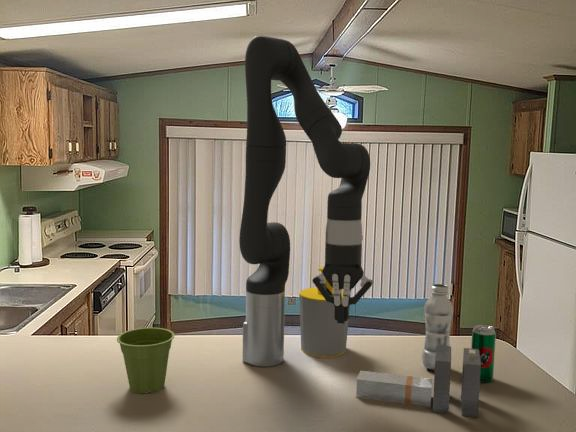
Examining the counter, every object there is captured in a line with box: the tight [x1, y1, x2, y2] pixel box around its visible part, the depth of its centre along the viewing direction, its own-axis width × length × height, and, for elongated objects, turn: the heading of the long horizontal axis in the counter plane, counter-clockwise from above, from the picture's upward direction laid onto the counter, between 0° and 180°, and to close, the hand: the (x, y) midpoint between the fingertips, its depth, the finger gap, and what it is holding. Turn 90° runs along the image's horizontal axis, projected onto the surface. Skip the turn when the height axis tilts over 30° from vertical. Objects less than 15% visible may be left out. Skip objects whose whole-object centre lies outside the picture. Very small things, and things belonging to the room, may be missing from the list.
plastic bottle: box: [421, 283, 454, 371], centre depth 140 cm, size 6×7×20 cm
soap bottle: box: [298, 266, 351, 358], centre depth 152 cm, size 13×13×21 cm
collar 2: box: [460, 347, 481, 418], centre depth 121 cm, size 3×9×12 cm, turn 165°
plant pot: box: [116, 327, 176, 394], centre depth 127 cm, size 12×12×11 cm
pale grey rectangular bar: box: [355, 369, 433, 408], centre depth 125 cm, size 15×5×4 cm, turn 75°
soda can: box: [470, 324, 497, 383], centre depth 135 cm, size 5×5×12 cm
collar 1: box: [432, 345, 452, 414], centre depth 122 cm, size 3×9×10 cm, turn 165°
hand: (341, 322), depth 126 cm, fingers closed
